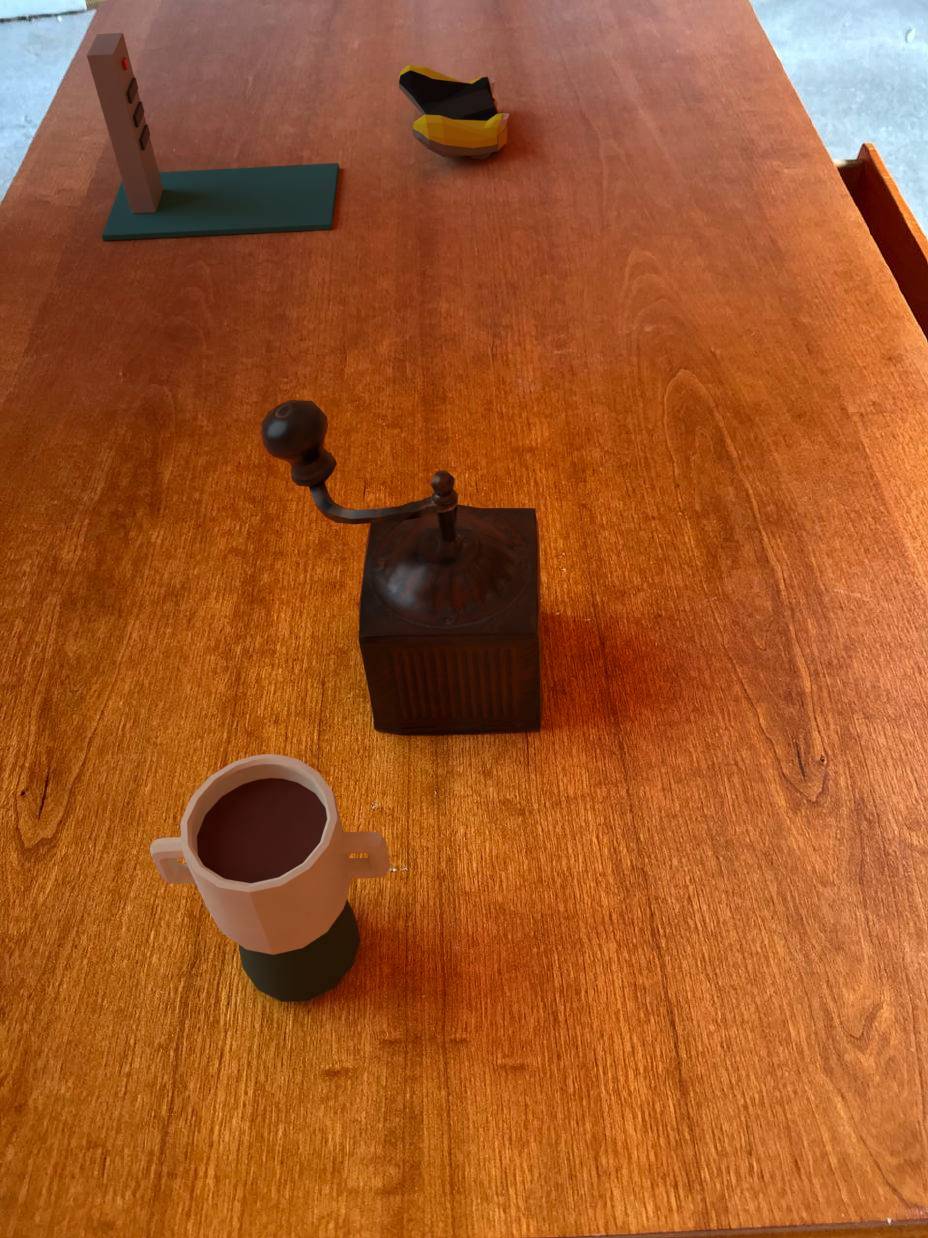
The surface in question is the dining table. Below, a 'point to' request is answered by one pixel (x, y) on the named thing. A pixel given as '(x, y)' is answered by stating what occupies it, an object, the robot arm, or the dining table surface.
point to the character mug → (275, 871)
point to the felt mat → (232, 203)
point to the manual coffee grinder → (434, 597)
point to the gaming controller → (454, 113)
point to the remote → (125, 121)
